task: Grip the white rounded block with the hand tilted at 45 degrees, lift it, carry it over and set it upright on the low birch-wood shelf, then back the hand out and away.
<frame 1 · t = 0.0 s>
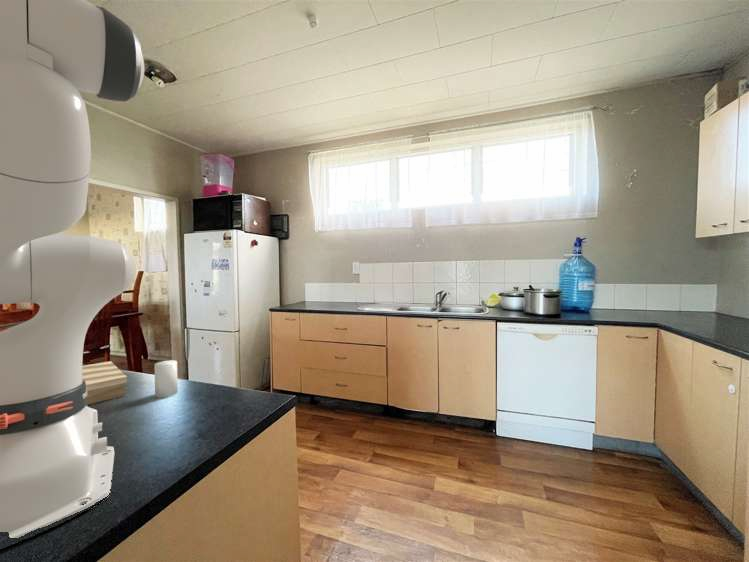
hand: (24, 202, 66), 48 cm above the counter, tool pointing down, fingers open, 8 cm apart
white rounded block: (166, 394, 81), on the counter
shelf: (85, 392, 82), on the counter
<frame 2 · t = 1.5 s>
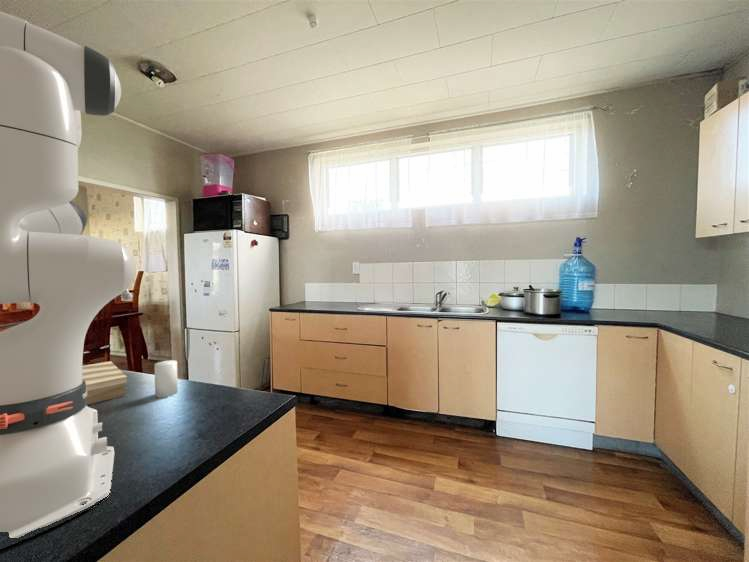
hand: (116, 300, 80), 25 cm above the counter, tool tilted 45°, fingers open, 8 cm apart
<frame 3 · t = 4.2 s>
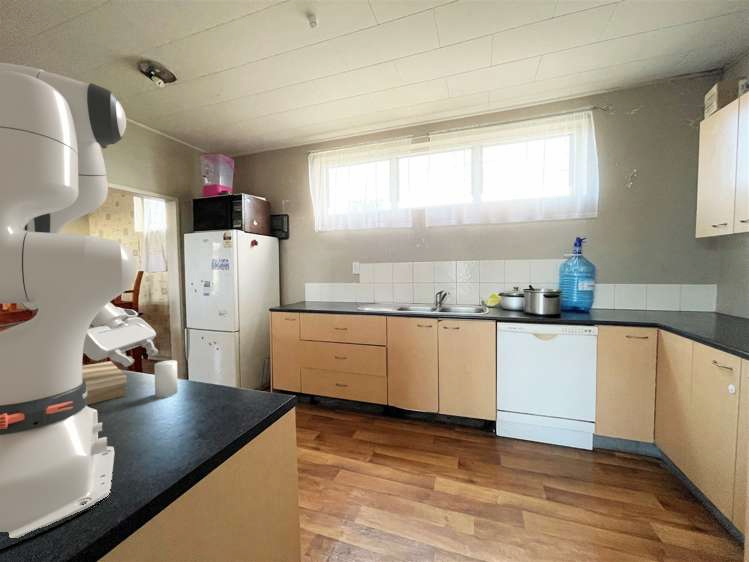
hand: (143, 358, 81), 10 cm above the counter, tool tilted 45°, fingers open, 8 cm apart
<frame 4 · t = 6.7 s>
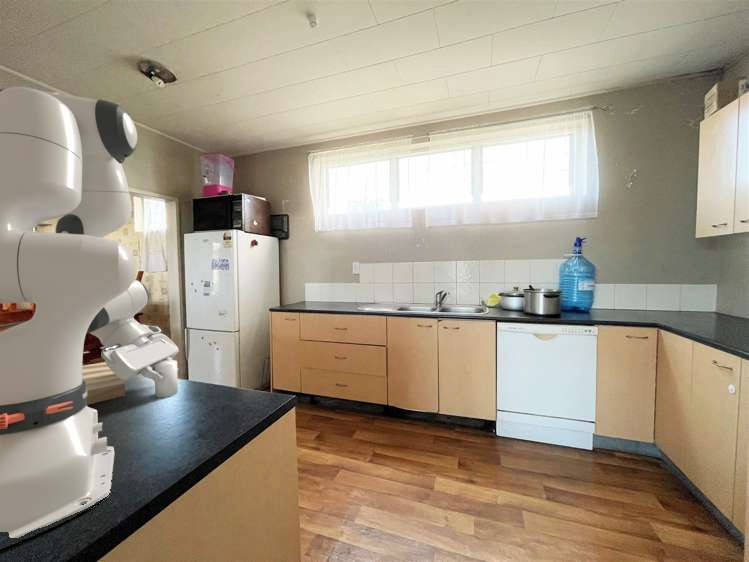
hand: (168, 376, 81), 5 cm above the counter, tool tilted 45°, fingers closed on white rounded block, 5 cm apart
white rounded block: (166, 394, 81), on the counter, touching gripper
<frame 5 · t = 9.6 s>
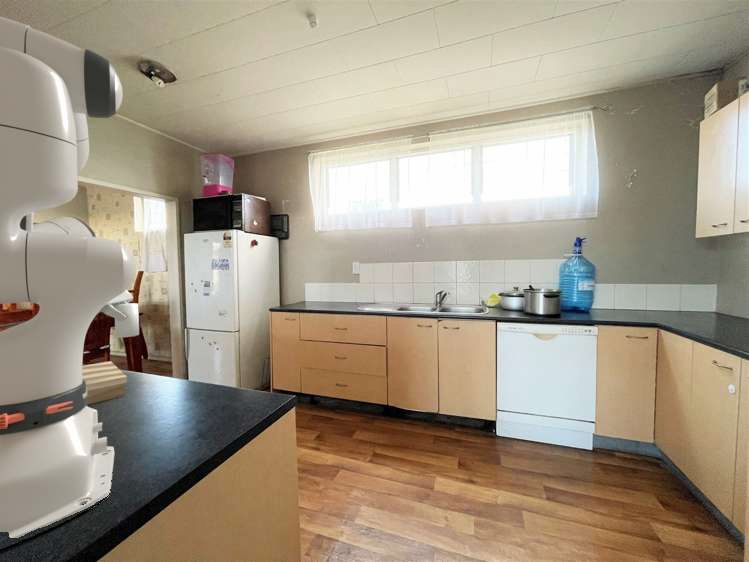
hand: (129, 317, 82), 21 cm above the counter, tool tilted 45°, fingers closed on white rounded block, 5 cm apart
white rounded block: (127, 335, 82), point 16 cm above the counter, touching gripper
when the fingers open (11 cm above the counter, at t = 12.9 s): white rounded block drops 1 cm, resting on shelf.
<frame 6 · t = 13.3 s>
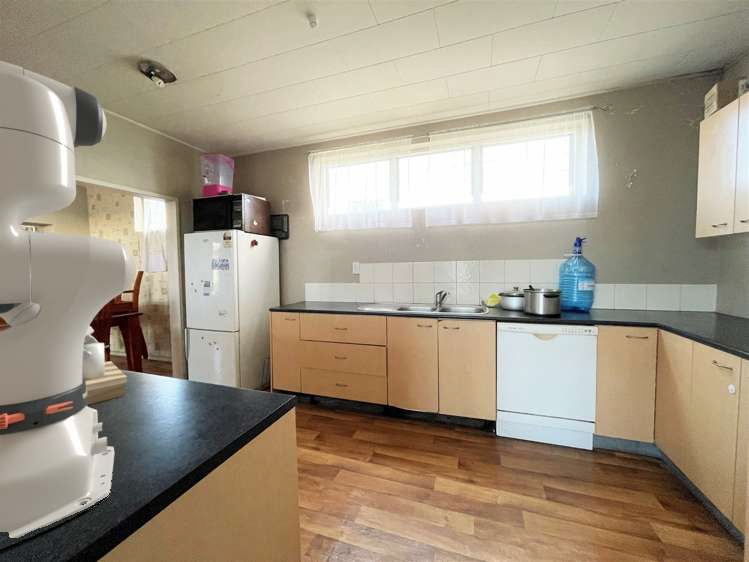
hand: (94, 352, 81), 11 cm above the counter, tool tilted 45°, fingers open, 8 cm apart
white rounded block: (92, 376, 80), point 5 cm above the counter, touching shelf
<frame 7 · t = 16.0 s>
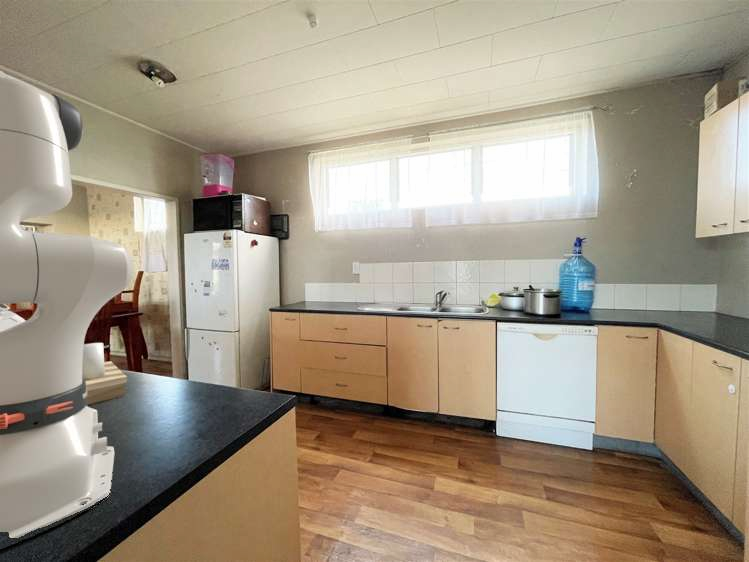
hand: (31, 353, 74), 13 cm above the counter, tool tilted 45°, fingers open, 8 cm apart
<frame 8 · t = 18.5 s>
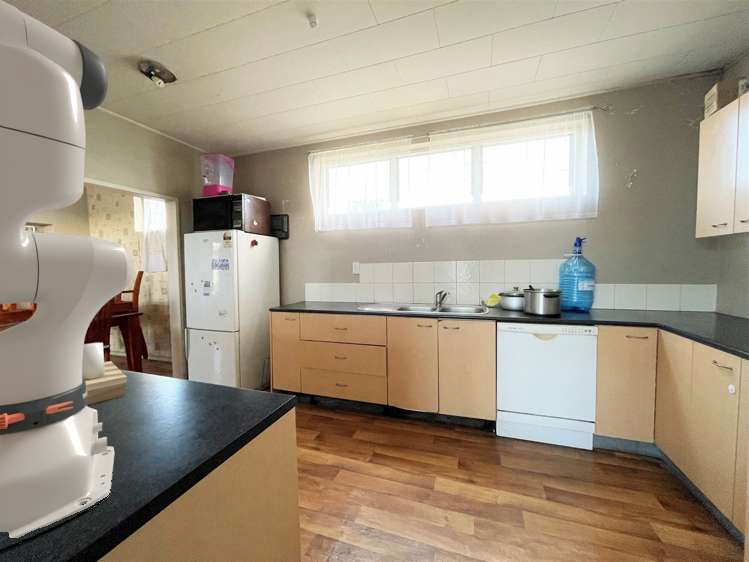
hand: (42, 278, 73), 31 cm above the counter, tool tilted 45°, fingers open, 8 cm apart
at the end: white rounded block inside the target area on the shelf (4.2 cm from its centre), point 5.1 cm above the shelf's base; white rounded block tilted 2°; the gripper is holding nothing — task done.
